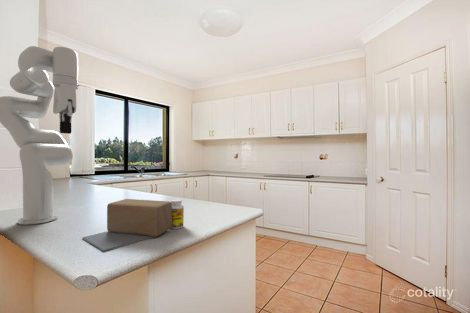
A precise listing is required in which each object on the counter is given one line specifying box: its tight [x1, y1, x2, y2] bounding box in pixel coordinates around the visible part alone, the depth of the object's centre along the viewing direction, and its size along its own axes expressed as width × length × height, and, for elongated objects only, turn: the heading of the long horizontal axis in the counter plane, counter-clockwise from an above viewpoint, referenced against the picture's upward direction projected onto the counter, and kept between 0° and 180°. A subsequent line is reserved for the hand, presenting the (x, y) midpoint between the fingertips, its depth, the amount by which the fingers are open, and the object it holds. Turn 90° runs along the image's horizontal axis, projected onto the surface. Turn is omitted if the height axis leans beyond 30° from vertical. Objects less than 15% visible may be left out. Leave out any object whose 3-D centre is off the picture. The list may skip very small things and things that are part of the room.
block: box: [106, 198, 172, 237], centre depth 84 cm, size 10×10×20 cm
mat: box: [82, 230, 156, 253], centre depth 79 cm, size 16×18×1 cm
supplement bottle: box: [170, 198, 185, 230], centre depth 89 cm, size 6×6×10 cm
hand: (65, 133), depth 87 cm, fingers closed
